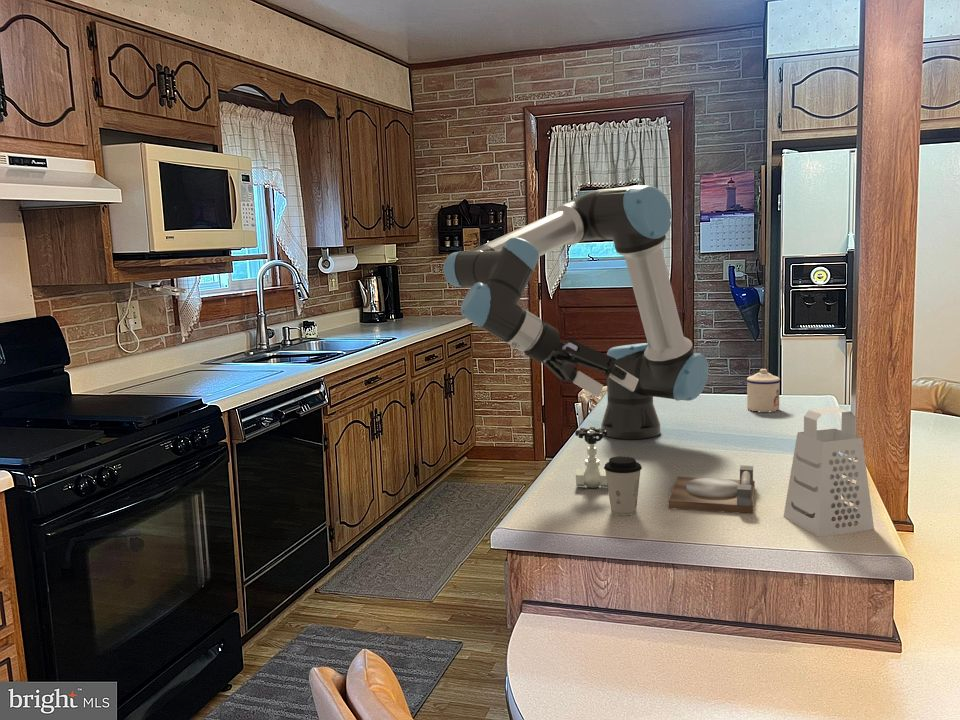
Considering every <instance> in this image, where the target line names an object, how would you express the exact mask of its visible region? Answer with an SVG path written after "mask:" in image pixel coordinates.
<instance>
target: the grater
mask: <svg viewBox="0 0 960 720" xmlns="http://www.w3.org/2000/svg"><path fill="white" fill-rule="evenodd" d="M838 413H841V429H837V428H827V429H817V428H818V427H817V425H818V420H819V419H820V418H821V416H822V415H828V414H829V415H830V414H838ZM840 453H841V454H842V455H841V454H840ZM866 463H867V462H866V458H865V451H864V443H863V437H861V436H857V435H856V415H855V414H854V413H853V412H852V411H851V410H848V409H845V408H844V409H843V408H842V407H841V408H840V407H827V408H818V409H817V408H816V409H815V408H814V409H808V410H807V412H806V413H805V414H804V415H803V431H797V434H796V439H795V445H794V451H793V457H792V463H791V468H790V476H789V480H788V481H789V482H788V488H787V494H786V500H785V505H784V506H785V507H784V511H783V512H784V513H783V518H785V519H786V520H789V521H791V522H792V523H793V524H796V525H797V526H798V527H801V528H802V529H805V530H807V531H808V532H810V533H812V534H813V535H815V536H817V537H826V536H833V535H842V534H841V533H843V534H849V533H850V532H851V533H857V531H859V532H863V531H864V532H867V531H872V530H871V529H874V530H875V526H874V525H875V524H874V517H873V510H872V503H871V493H870V487H869V480H868V479H869V478H868V473H867V464H866ZM843 476H845V477H843ZM853 480H855V482H856V483H855V482H853ZM842 498H843V499H842ZM845 502H846V503H845ZM850 503H851V504H852V505H850ZM836 512H838V514H836ZM808 514H809V515H813V514H814V517H809V516H807V515H808ZM845 516H846V517H847V519H845ZM833 517H835V520H834V521H833V520H832V518H833ZM839 517H841V520H839V519H838V518H839ZM856 521H857V525H855V522H856ZM849 522H851V526H849V525H848V524H849ZM843 523H844V524H845V525H844V527H843V526H842V524H843ZM836 524H839V527H836ZM851 533H850V534H851Z"/></svg>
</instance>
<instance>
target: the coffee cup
mask: <svg viewBox="0 0 960 720" xmlns="http://www.w3.org/2000/svg"><path fill="white" fill-rule="evenodd" d="M603 469H605V472H606V479H607V485H608V487H607V491H608V498H609V505H610V512H611V514H612V513H614V514H617V515H616V516H618V515H630V516H632V515H631V514H633V515H635V514H636V513H637V507H638V496H639V488H640V487H639V486H640V478H641V477H640V476H641V470H642V469H643V467H642V465H641V463H639V462H637V459H636V458H634V457H631V456H613V457H609V458H608V462H606V463H605V464H604V467H603ZM634 513H635V514H634ZM614 514H613V515H614Z"/></svg>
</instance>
